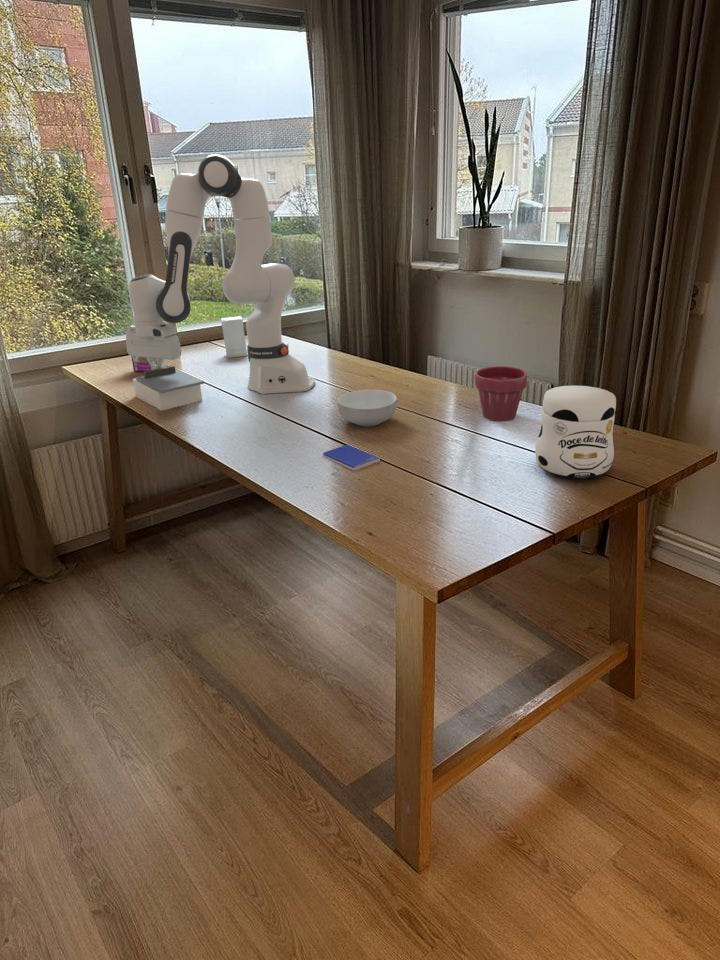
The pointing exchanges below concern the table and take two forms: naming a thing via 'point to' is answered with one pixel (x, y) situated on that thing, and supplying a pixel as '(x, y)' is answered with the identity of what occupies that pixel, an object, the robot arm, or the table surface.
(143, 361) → the candy bar box
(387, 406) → the cereal bowl
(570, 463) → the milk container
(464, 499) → the table surface
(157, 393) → the base
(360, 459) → the blue book
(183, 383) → the grey flat rectangular panel
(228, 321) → the skincare box
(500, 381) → the plant pot
